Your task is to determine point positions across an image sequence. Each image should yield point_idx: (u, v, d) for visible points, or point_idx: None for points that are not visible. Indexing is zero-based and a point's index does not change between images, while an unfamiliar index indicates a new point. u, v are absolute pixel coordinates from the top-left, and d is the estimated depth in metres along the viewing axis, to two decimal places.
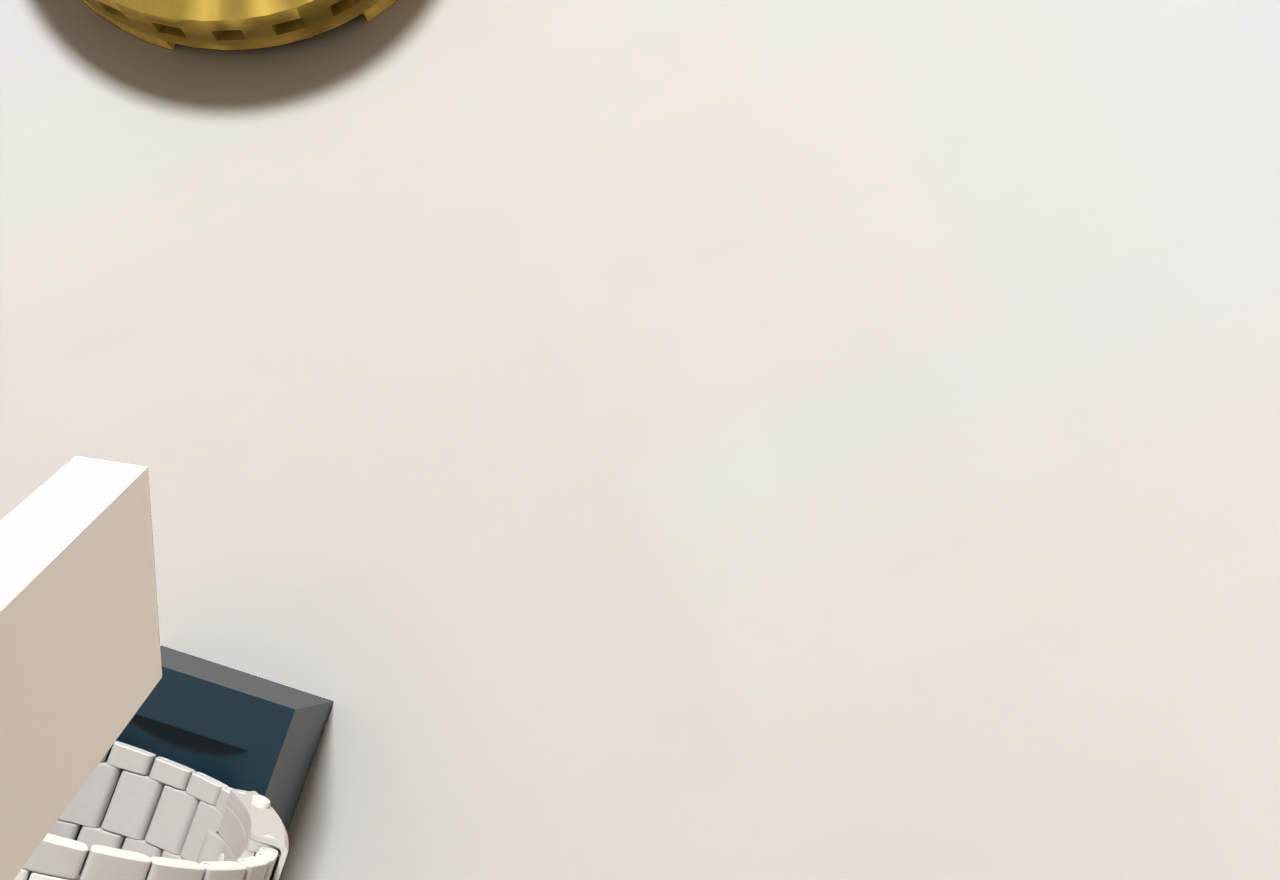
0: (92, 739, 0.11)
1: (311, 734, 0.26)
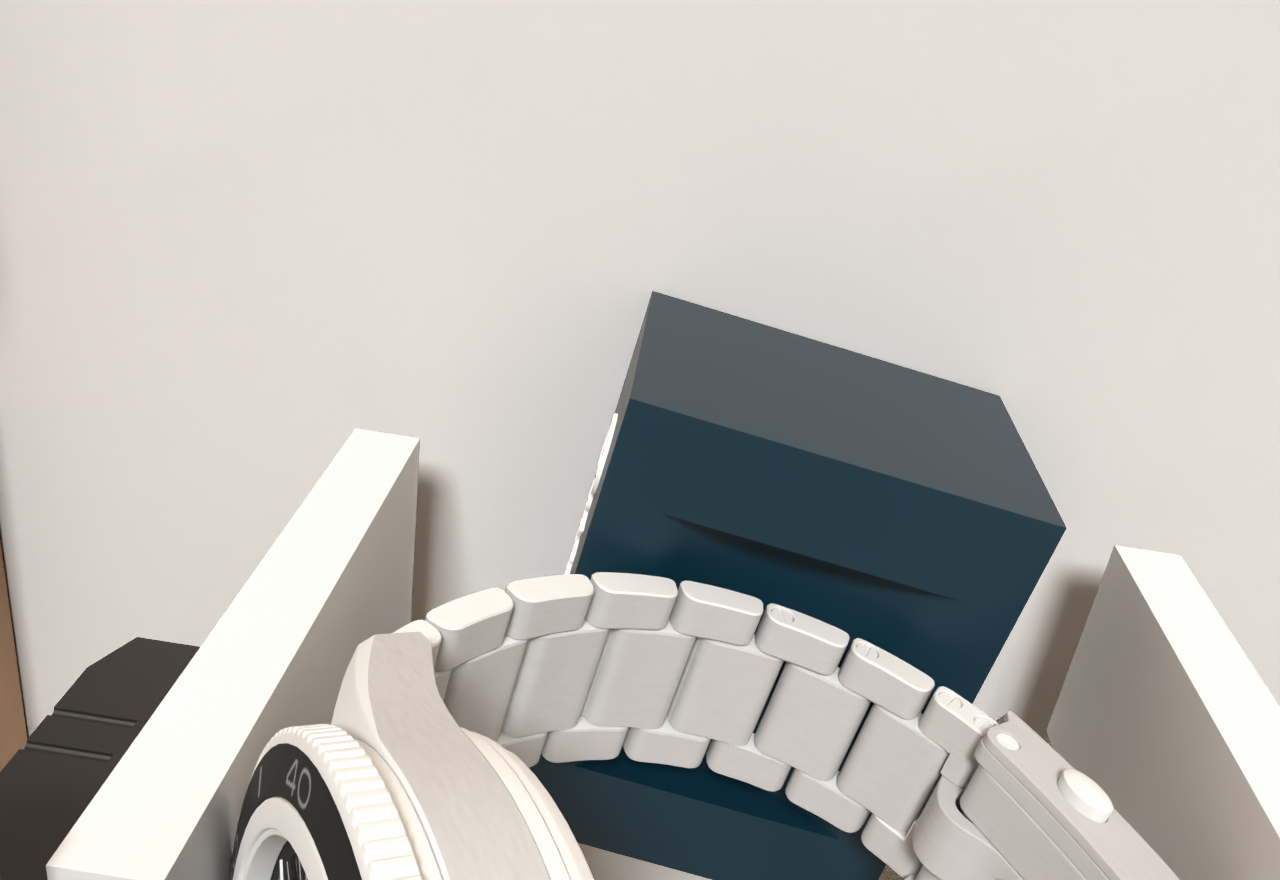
0: None
1: None
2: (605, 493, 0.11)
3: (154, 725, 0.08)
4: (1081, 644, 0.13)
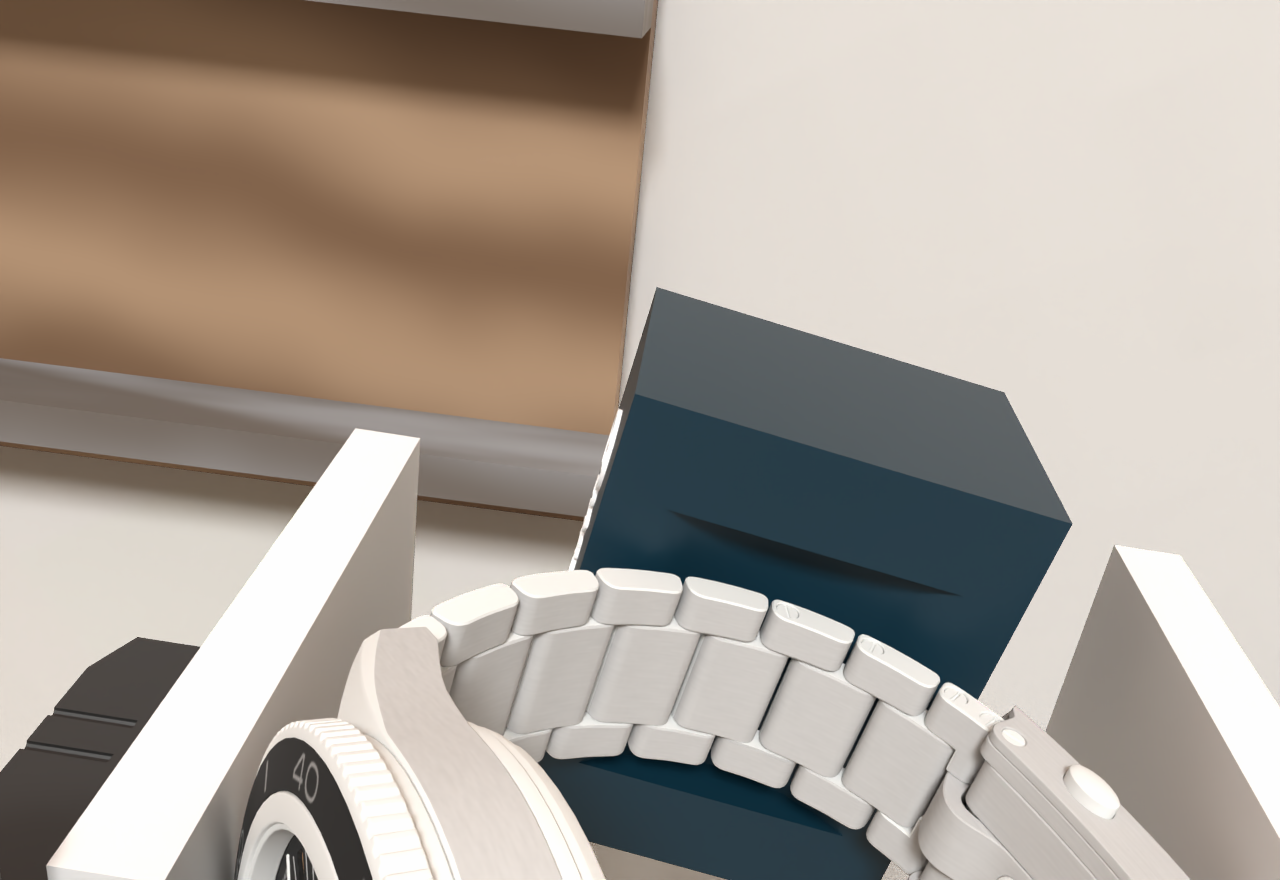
0: None
1: None
2: (609, 489, 0.11)
3: (154, 723, 0.08)
4: (1080, 644, 0.13)
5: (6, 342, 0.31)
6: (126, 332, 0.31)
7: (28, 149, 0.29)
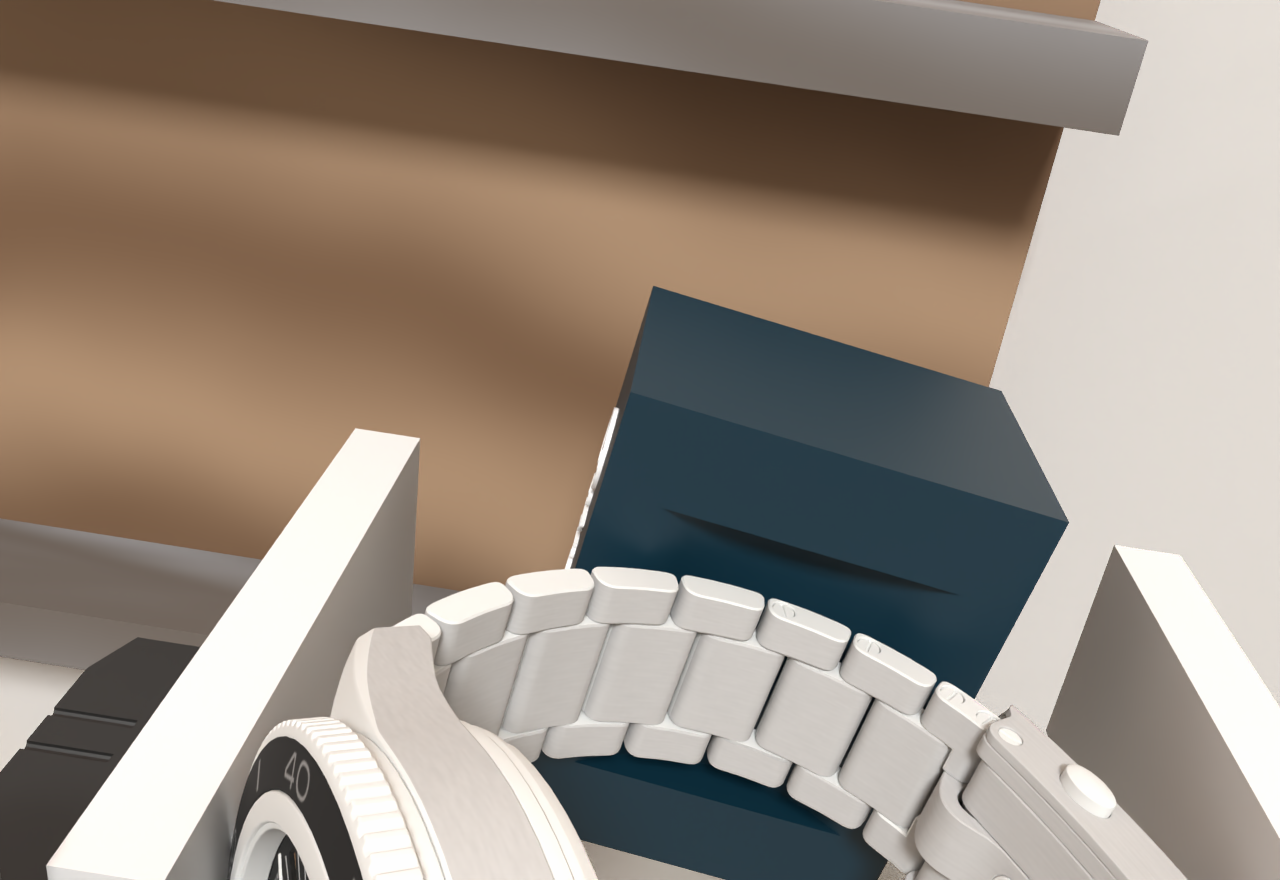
0: None
1: None
2: (605, 487, 0.11)
3: (156, 724, 0.09)
4: (1081, 644, 0.13)
5: (47, 504, 0.22)
6: (222, 498, 0.22)
7: (93, 242, 0.20)
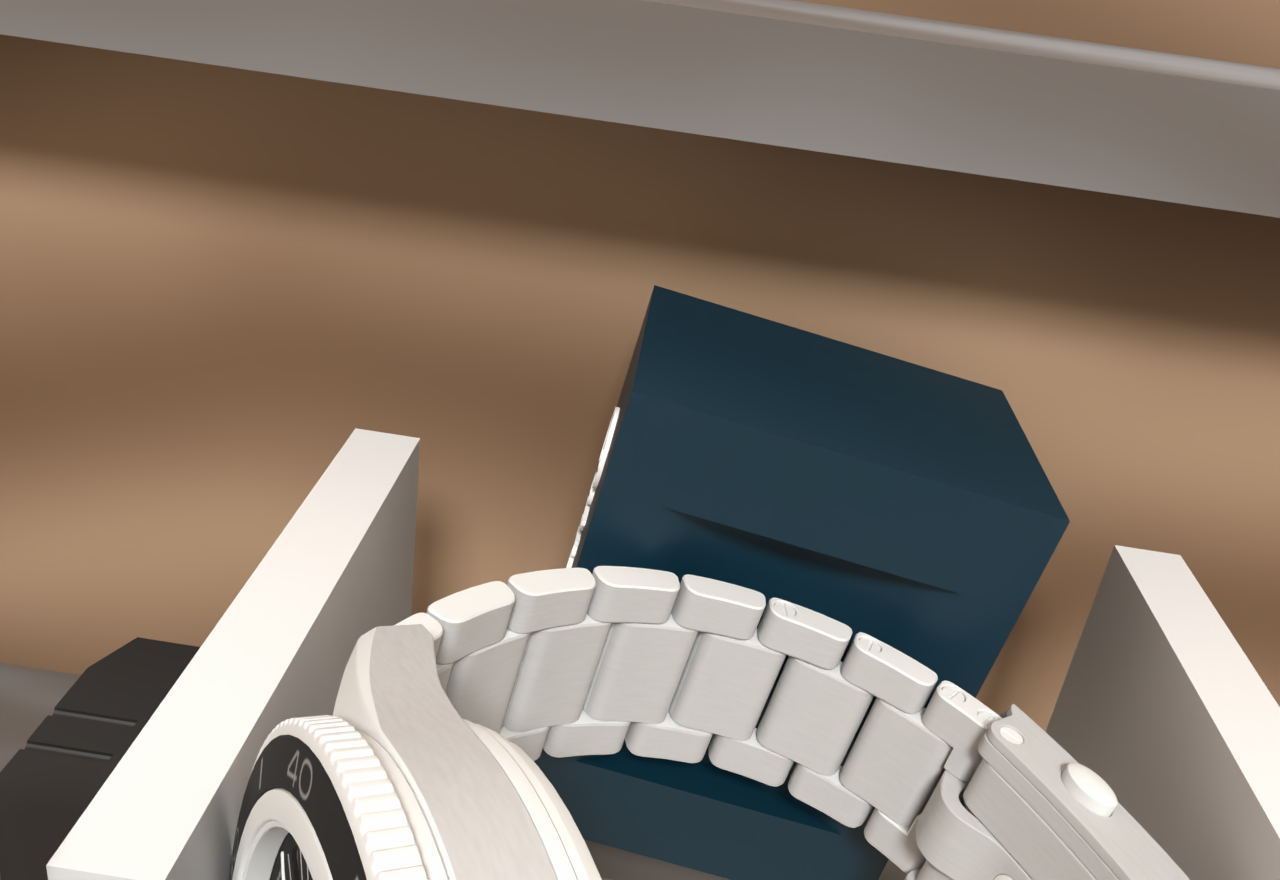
0: None
1: None
2: (606, 487, 0.11)
3: (155, 723, 0.09)
4: (1081, 644, 0.13)
5: None
6: None
7: (358, 386, 0.16)
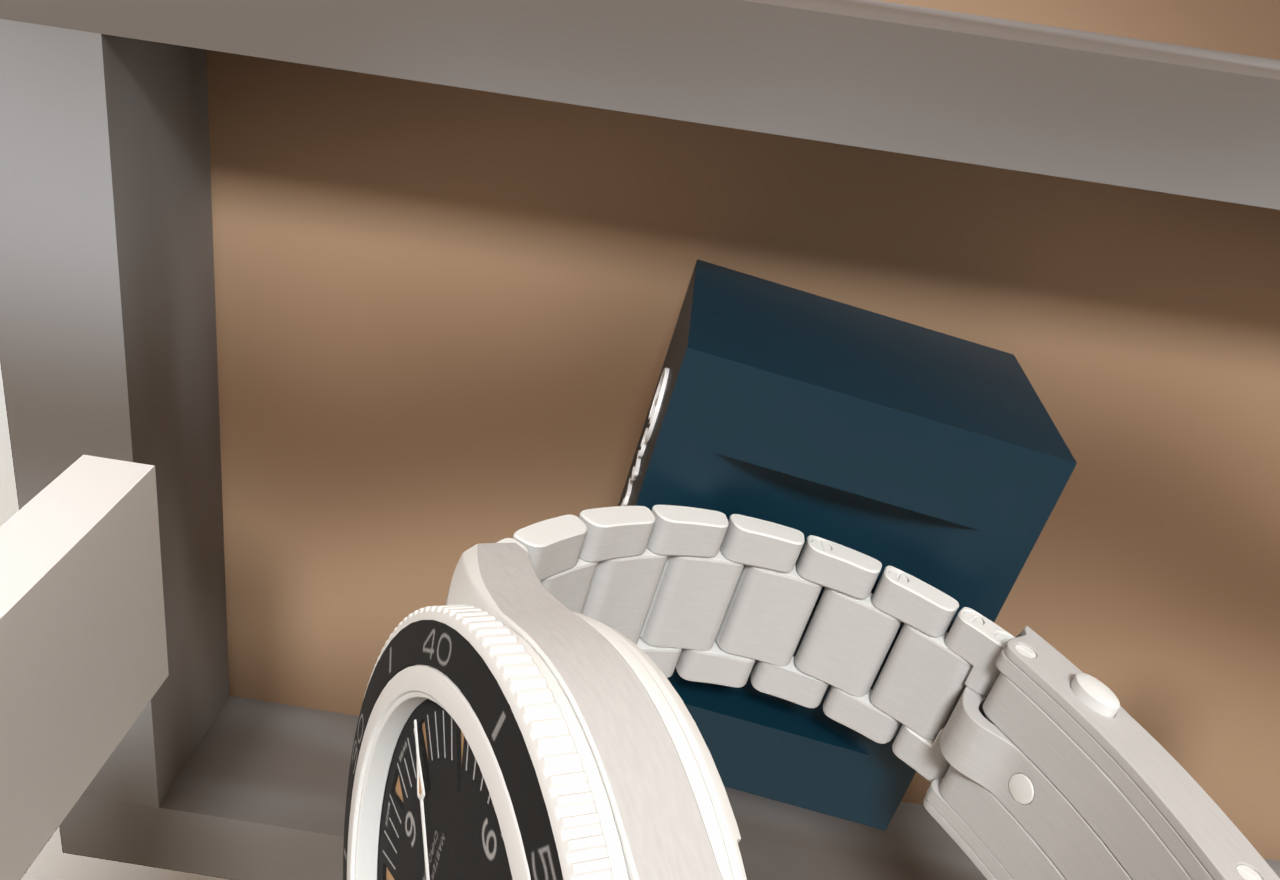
0: (100, 737, 0.11)
1: None
2: (663, 434, 0.12)
3: None
4: None
5: None
6: None
7: None
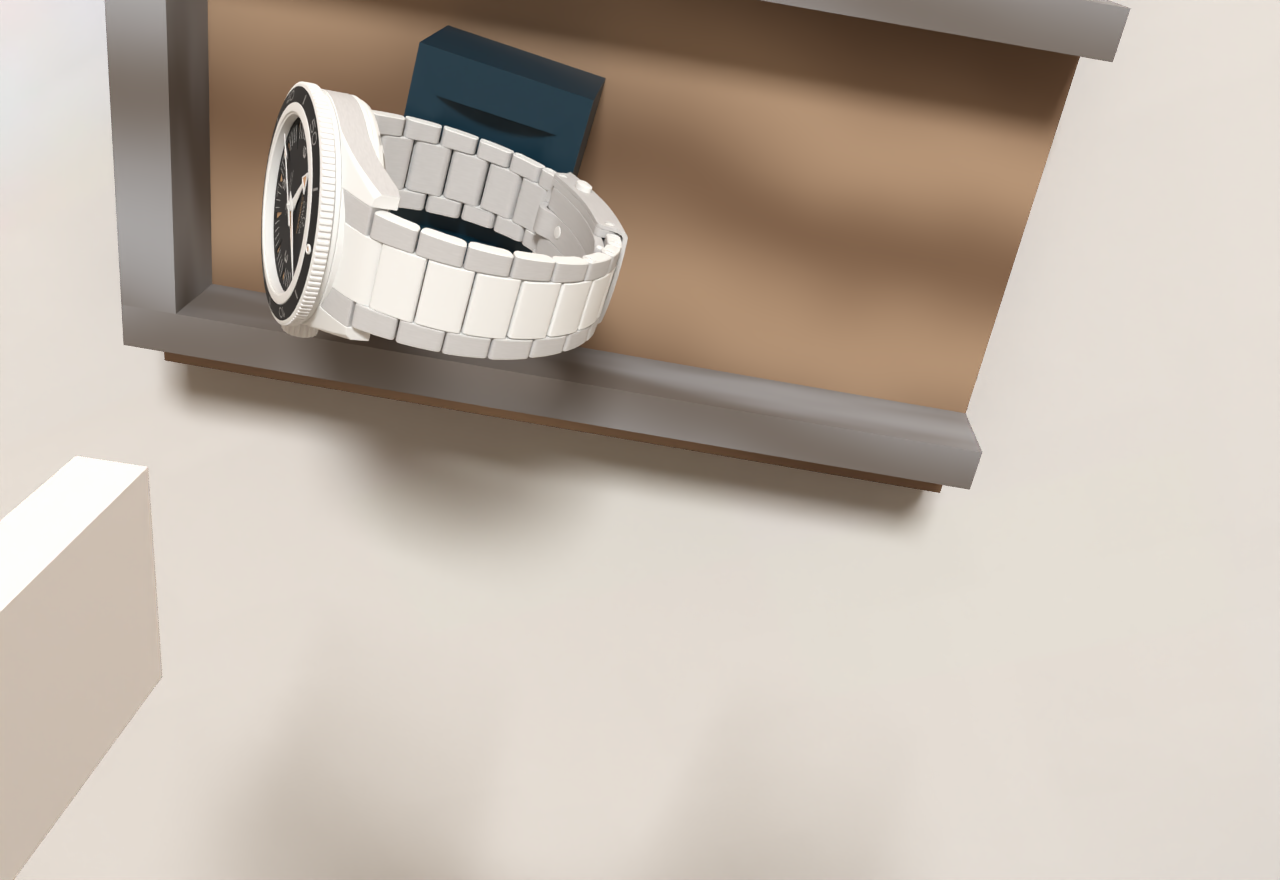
0: (92, 739, 0.11)
1: (594, 112, 0.30)
2: (412, 86, 0.28)
3: None
4: None
5: None
6: None
7: None
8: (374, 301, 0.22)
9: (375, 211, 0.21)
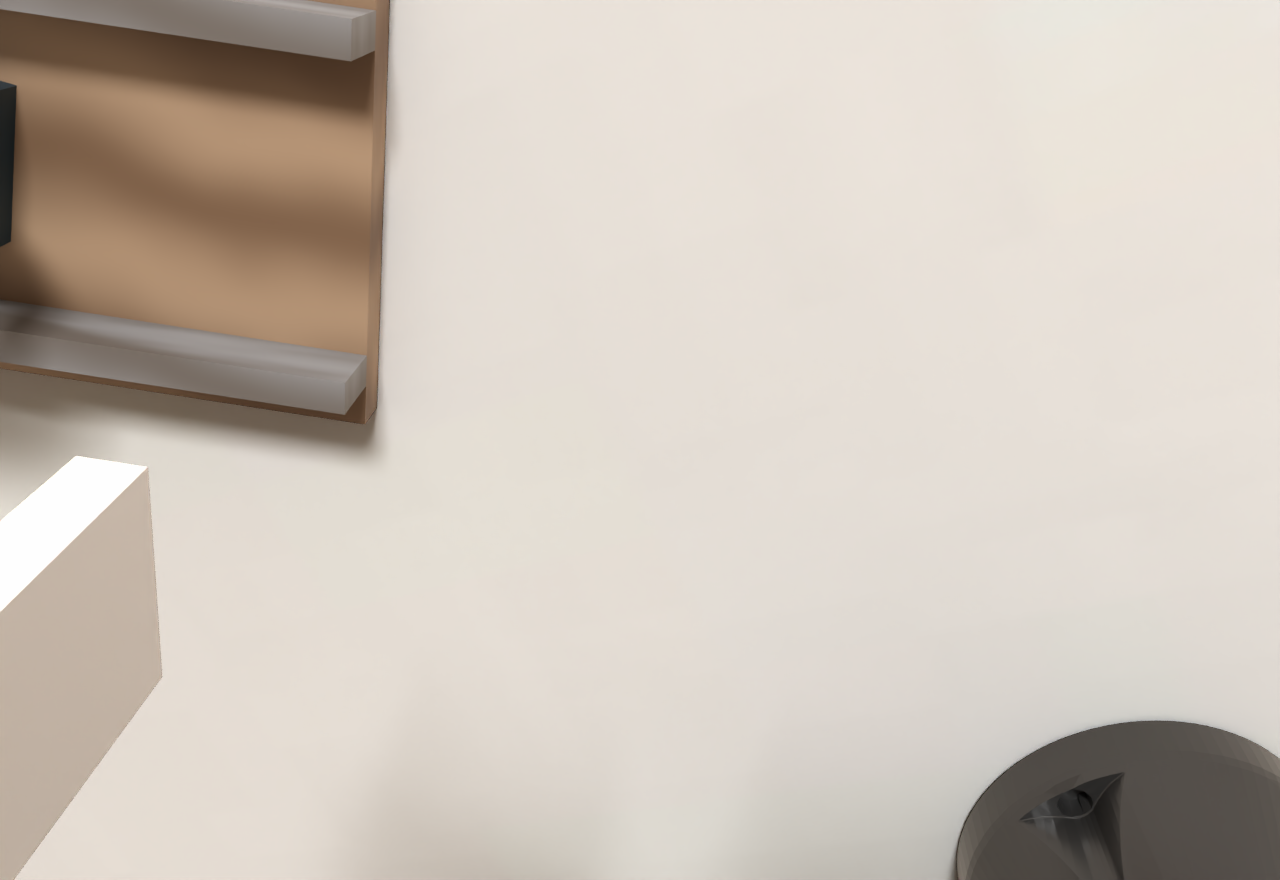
0: (92, 740, 0.11)
1: None
2: None
3: None
4: None
5: None
6: None
7: None
8: None
9: None
